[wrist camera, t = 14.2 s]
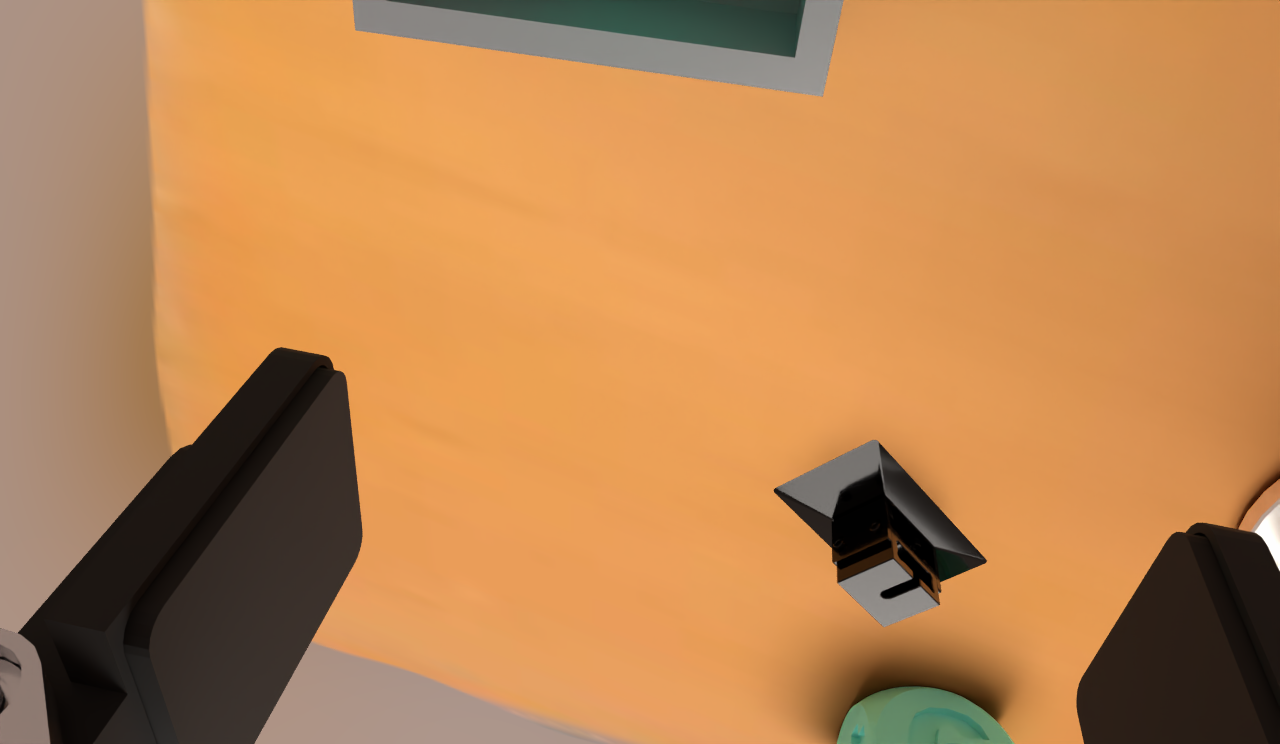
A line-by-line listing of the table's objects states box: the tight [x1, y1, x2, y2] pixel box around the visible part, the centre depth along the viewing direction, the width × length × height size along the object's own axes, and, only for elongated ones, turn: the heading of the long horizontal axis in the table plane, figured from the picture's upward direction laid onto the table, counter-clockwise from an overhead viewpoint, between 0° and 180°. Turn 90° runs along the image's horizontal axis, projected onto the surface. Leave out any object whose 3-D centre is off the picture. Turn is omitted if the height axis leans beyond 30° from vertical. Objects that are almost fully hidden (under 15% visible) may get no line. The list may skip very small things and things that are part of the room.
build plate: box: [774, 440, 987, 627], centre depth 43 cm, size 12×7×5 cm, turn 42°
